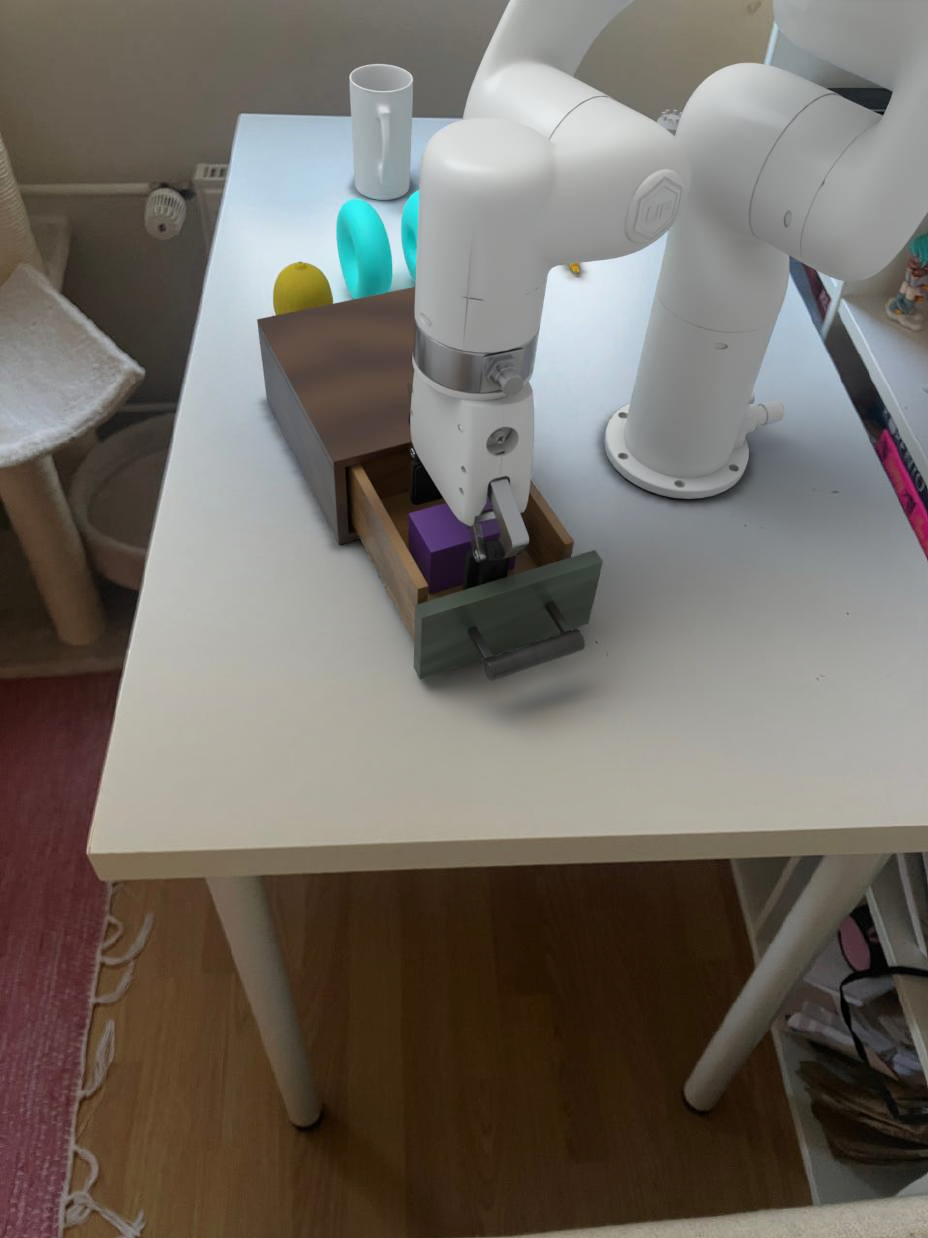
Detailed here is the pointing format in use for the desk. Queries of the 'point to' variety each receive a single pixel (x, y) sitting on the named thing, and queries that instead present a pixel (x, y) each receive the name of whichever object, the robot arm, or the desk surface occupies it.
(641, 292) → the desk surface
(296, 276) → the lemon
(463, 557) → the purple block
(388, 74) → the mug
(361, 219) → the donuts
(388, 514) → the drawer
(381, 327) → the desk cabinet
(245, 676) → the desk surface
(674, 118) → the rook chess piece
